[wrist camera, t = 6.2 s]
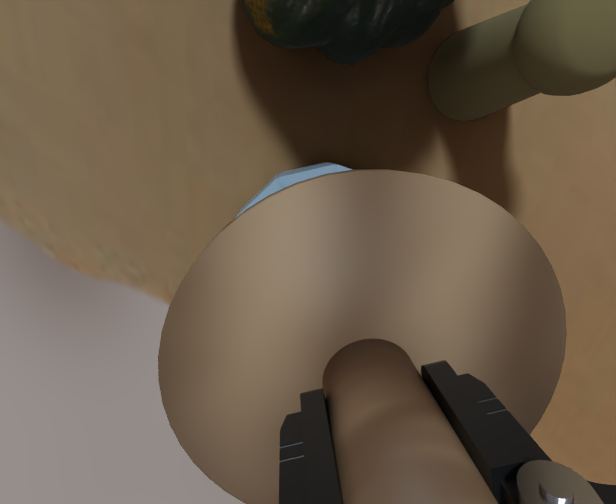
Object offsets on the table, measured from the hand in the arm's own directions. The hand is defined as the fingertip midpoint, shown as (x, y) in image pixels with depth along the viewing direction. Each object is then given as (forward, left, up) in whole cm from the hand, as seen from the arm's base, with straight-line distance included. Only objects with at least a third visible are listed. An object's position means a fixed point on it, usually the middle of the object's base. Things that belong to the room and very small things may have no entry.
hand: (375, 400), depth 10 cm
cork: (-13, -10, -17) cm, 24 cm away
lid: (0, 0, -2) cm, 2 cm away
